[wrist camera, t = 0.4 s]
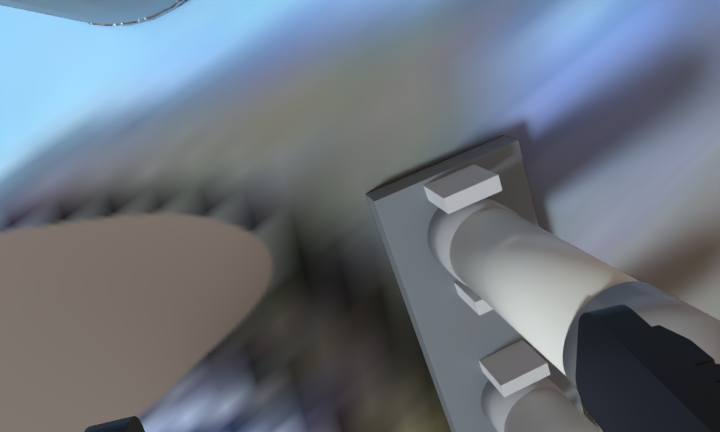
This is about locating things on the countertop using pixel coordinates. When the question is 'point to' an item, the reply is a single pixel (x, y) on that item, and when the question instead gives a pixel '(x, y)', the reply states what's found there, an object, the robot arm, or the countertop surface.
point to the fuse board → (451, 297)
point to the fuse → (550, 282)
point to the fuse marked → (534, 409)
